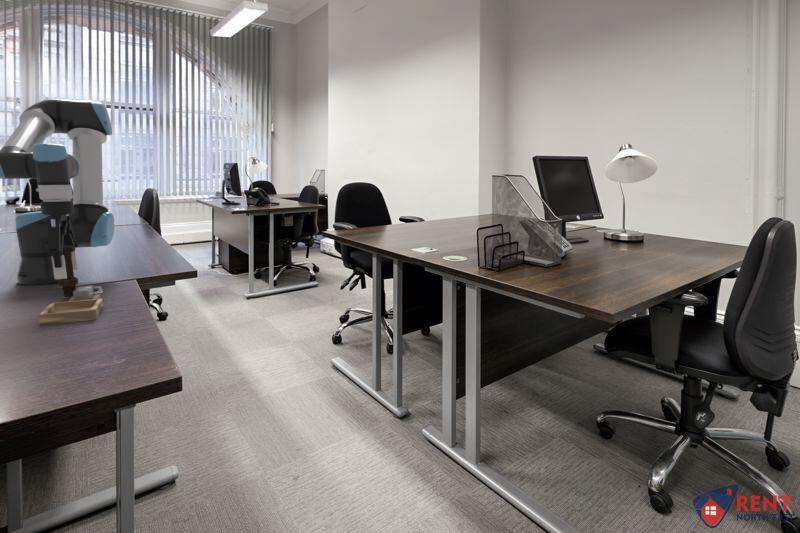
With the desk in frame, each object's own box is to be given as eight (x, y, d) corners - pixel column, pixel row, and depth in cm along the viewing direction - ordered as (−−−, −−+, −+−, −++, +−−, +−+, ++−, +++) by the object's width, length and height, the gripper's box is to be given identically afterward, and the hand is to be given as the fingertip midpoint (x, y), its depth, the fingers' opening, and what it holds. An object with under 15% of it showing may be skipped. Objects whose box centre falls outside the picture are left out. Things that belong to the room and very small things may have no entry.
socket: (62, 301, 129) (61, 292, 129) (110, 297, 134) (109, 288, 133) (39, 325, 109) (38, 315, 109) (96, 319, 114) (95, 309, 113)
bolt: (86, 294, 136) (79, 245, 133) (72, 299, 132) (65, 247, 128) (68, 294, 137) (61, 244, 134) (54, 298, 132) (46, 247, 129)
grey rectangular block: (79, 298, 131) (77, 286, 130) (94, 297, 133) (93, 284, 132) (74, 304, 125) (72, 291, 125) (90, 303, 127) (88, 290, 126)
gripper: (52, 198, 138) (62, 267, 142) (25, 202, 116) (38, 284, 120) (81, 198, 141) (90, 265, 145) (61, 202, 119) (72, 281, 123)
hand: (66, 274), depth 133 cm, fingers open, 13 cm apart
